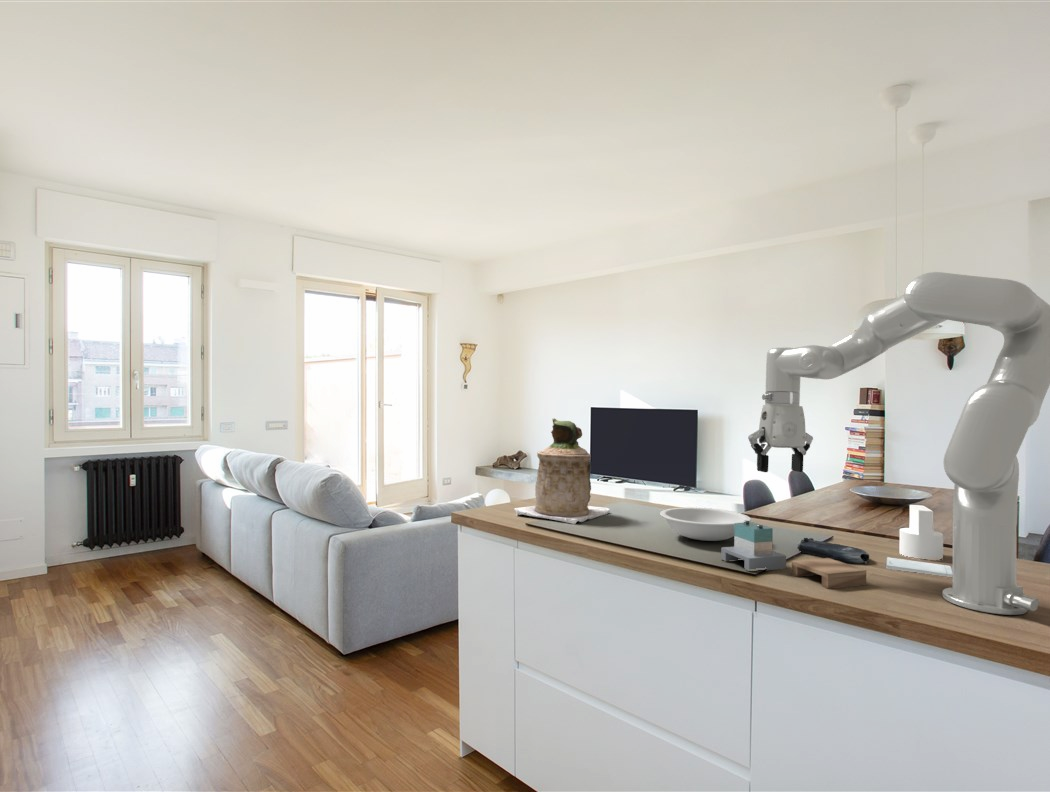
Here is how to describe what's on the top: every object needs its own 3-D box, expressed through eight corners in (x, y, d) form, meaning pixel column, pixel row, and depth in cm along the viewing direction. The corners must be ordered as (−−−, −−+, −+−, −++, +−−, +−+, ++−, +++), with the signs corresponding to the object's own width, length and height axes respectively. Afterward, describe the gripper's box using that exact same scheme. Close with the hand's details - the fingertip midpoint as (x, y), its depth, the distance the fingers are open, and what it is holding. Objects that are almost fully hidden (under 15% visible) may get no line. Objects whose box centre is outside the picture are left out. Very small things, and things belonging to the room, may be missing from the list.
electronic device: (796, 560, 145) (860, 565, 134) (794, 537, 146) (858, 540, 135) (812, 559, 151) (875, 563, 140) (811, 537, 152) (873, 540, 141)
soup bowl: (741, 531, 170) (741, 509, 170) (759, 552, 146) (760, 526, 146) (657, 527, 174) (657, 505, 174) (662, 547, 150) (662, 521, 150)
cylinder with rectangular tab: (895, 549, 151) (895, 503, 151) (936, 553, 147) (936, 506, 148) (904, 558, 142) (904, 509, 142) (948, 562, 139) (948, 512, 139)
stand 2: (866, 584, 121) (866, 570, 121) (827, 588, 118) (828, 573, 118) (828, 571, 130) (828, 557, 130) (791, 574, 127) (791, 560, 127)
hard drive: (886, 564, 133) (953, 573, 126) (886, 556, 140) (950, 564, 133) (886, 571, 133) (953, 580, 126) (886, 563, 140) (950, 571, 133)
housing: (772, 554, 132) (772, 525, 132) (754, 556, 131) (754, 526, 131) (751, 547, 139) (752, 519, 139) (734, 548, 137) (734, 520, 138)
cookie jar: (578, 525, 175) (579, 420, 176) (511, 516, 189) (512, 418, 189) (612, 513, 196) (613, 418, 196) (549, 505, 209) (551, 417, 210)
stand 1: (786, 568, 132) (786, 555, 132) (749, 572, 129) (749, 558, 129) (756, 557, 141) (756, 545, 141) (721, 560, 138) (721, 547, 138)
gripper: (761, 399, 132) (759, 473, 132) (824, 401, 136) (821, 473, 137) (741, 398, 139) (738, 469, 139) (801, 400, 144) (799, 469, 144)
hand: (779, 471), depth 138 cm, fingers open, 9 cm apart
